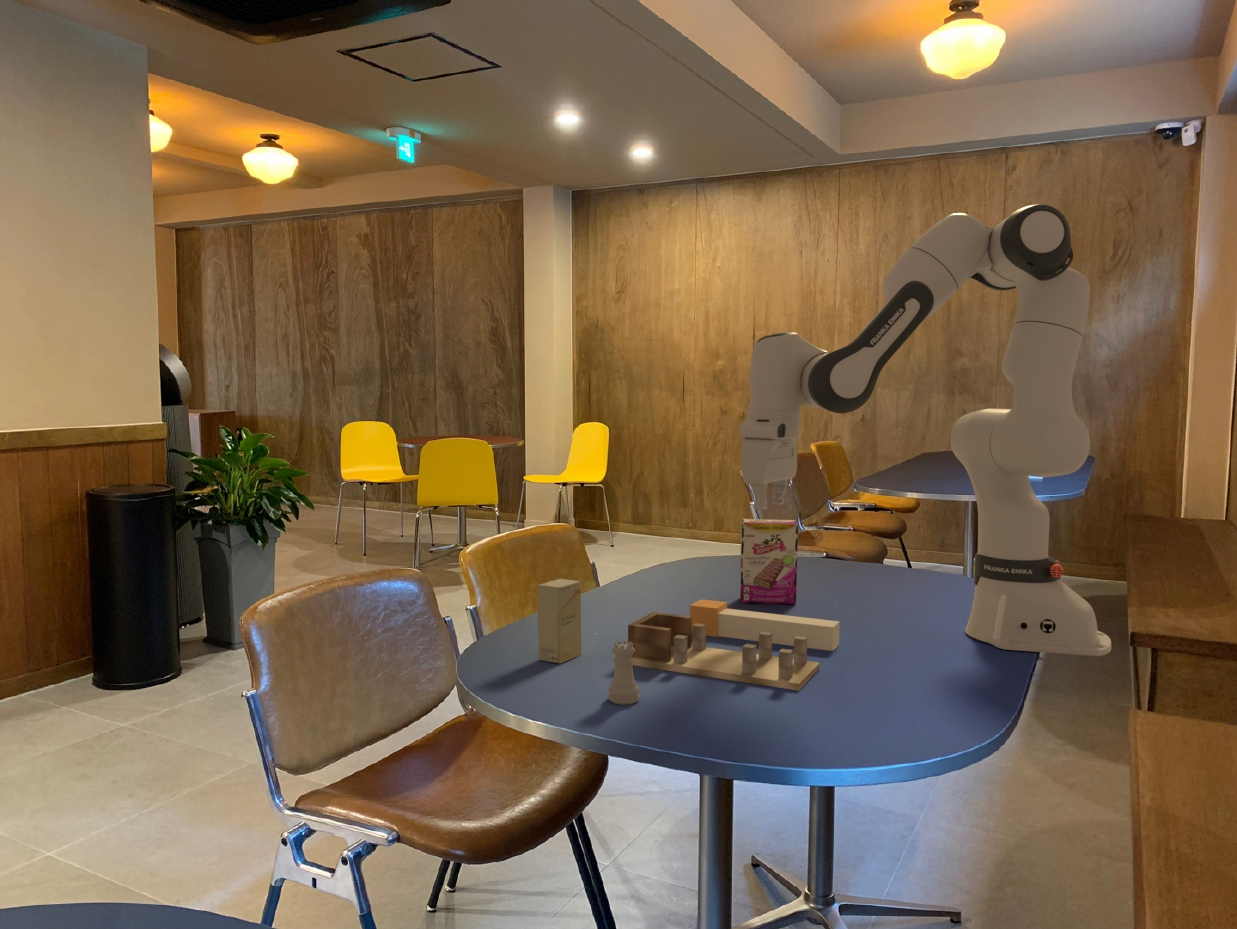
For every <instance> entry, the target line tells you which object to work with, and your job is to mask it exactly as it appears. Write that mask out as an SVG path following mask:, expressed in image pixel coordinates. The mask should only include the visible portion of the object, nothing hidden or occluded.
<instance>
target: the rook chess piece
mask: <svg viewBox="0 0 1237 929" xmlns="http://www.w3.org/2000/svg"><path fill="white" fill-rule="evenodd" d="M622 642H623V643H622ZM611 651H612V653H613V654H614V657H615V658H614V659H613V663H614V673H613V678H612V681H611V683H610V686H608V690H607V692H608V693H609V694H608V695H607V698H608V700H609V701H610V703H612V704H614V705H617V706H618V705H619V706H629V705H633V704H636V703H638V701H639V700H640V697H641V696H640V694H639V692H640V687H639V685H638V684H637V682H636V681H635V674H634V671H633V670H634V669H633V666H634V665H633V662H634V660H633V659H632V655H633V654H634V652H635V649H634V647H633V643H632V642H629V644H628V640H623V641H621V640H619V641H618V640H617V641H616V642H614V645H613V648H612V649H611Z"/></svg>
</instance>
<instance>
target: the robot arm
mask: <svg viewBox="0 0 1237 929" xmlns="http://www.w3.org/2000/svg"><path fill="white" fill-rule="evenodd" d="M1071 238H1072V236H1071V229H1070V225H1069V222H1068V220H1067V219H1066V217H1065V216H1064V214H1063V213H1062V212H1061V211H1060V210H1058V209H1057V208H1056V207H1054V206H1051V205H1047V204H1032V205H1027V206H1024V207H1022V208H1019V209H1017V210H1015V211H1014V212H1012V213H1011V214H1010V215H1009V216H1007V217H1006V218H1005V219H1003V220H1002V221H1000V222H999V223H998V224H996V225H995V226H987V225H984V224H983V223H982V222H981V221H979V219H977V218H975V216H972V215H970V214H967V213H963V212H957V213H955V212H954V213H952V214H948V215H947V216H945V217H943V218H942V219H941V220H940V221H938V222H937V223H935V224H934V225H933V226H932V227H930V228H929V229H927V231H926V232H924V233H923V234H922V235H921V236H920V237H919V238H917V239H916V240H915V241H914V242H913V243H912V244H911V245H910V246H909V247H908V248H907V249H906V250H905V251H904V252H903V253H902V255H901V256H899V258H898V259H897V261H896V262H895V263H894V264H893V266H892V267H891V268H890V270H889V272H888V273H887V275H886V277H885V278H884V279H883V284H882V285H883V287H882V290H883V295H884V298H885V300H884V304H883V306H882V307H881V308H880V310H879V311H878V312H877V314H876V315H874V317H873V318H872V319H871V320H870V321H869V323H868V324H866V326H864V328H862V330H861V332H860V333H859V334H858V335H857V336H856V337H855V338H854V339H853V340H852V341H851V342H850V343H849V344H847V345H846V346H844V347H842V348H838V349H836V350H834V351H831V352H829V351H827V350H825V349H823V348H820V347H818V346H816V345H814V344H812V343H811V342H809V341H808V340H806V339H805V338H804V337H802V336H801V335H800V334H799V333H798V332H795V331H786V332H785V331H784V332H778V333H772V334H766V335H764V336H762V337H760V338H758V340H756V342H755V343H754V346H753V348H752V353H751V359H750V367H749V382H748V383H749V389H750V401H749V403H748V407H747V408H748V409H747V416H746V418H745V420H744V421H743V422H742V423H741V424H740V426H739V437H740V439H741V438H742V442H741V452H740V453H741V463H740V464H741V476H742V481H743V482H744V483H745V484H749V485H750V484H751V485H752V494H753V496H754V497H753V498H754V509H755V510H756V511H764V510H767V509H768V502H769V500H768V498H767V490H768V484H771V483H773V485H774V486H773V494H771V503H772V505H775V506H781V505H784V502H785V494H786V490H787V487H788V480H789V479H793V478H796V474H797V470H798V444H797V439H799V438H800V424H801V423H800V422H801V421H800V420H801V408H802V405H806V406H809V407H811V408H814V409H818V410H823V411H829V412H832V413H836V414H847V413H851V412H854V411H856V410H858V409H860V408H861V407H863V406H864V405H865V404H866V403H867V402H868V401H869V399H870V397H871V396H872V394H873V391H874V389H875V387H876V384H877V381H878V378H879V376H880V373H881V372H882V370H883V368H884V367H885V365H886V364H887V363H888V362H889V360H890V359H891V358H892V357H893V356H894V355H895V354H896V353H897V351H898V350H899V349H900V348H901V347H902V345H903V344H904V343H905V342H906V341H907V340H908V338H910V337H911V335H912V334H913V333H914V332H915V330H916V329H917V328H918V327H919V326H921V324H923V323H924V321H926V320H927V319H928V318H929V317H931V316H932V315H933V314H934V313H936V312H937V311H938V310H939V309H940V308H942V307H943V306H944V305H945V304H946V303H947V302H948V301H949V300H950V299H951V298H952V297H953V296H954V295H955V294H956V292H958V291H959V290H960V289H961V287H962V286H963V285H964V284H965V283H966V282H967V281H968V280H969V279H972V280H974V281H978V282H979V283H980V284H982V285H983V286H985V287H986V288H989V289H990V290H995V291H1008V290H1015V289H1016V291H1017V295H1018V306H1017V308H1018V309H1017V312H1016V314H1015V317H1014V321H1013V323H1012V324H1013V325H1012V328H1011V330H1010V335H1009V338H1008V342H1007V346H1006V349H1005V352H1004V355H1003V356H1004V357H1003V359H1002V363H1001V370H1002V373H1003V375H1004V377H1005V379H1007V381H1008V382H1010V383H1011V384H1012V389H1013V403H1012V407H1011V408H985V409H979V410H975V411H972V412H969V413H966V414H963V415H962V416H961V417H959V419H957V420H956V422H955V423H954V425H953V427H952V430H951V433H950V447H951V451H952V452H953V454H954V456H955V458H956V459H957V460H958V461H959V462H960V463H961V464H962V465H963V467H964V469H965V470H966V472H967V475H968V477H969V480H970V482H971V486H972V488H973V492H974V496H975V502H976V506H977V551H976V552H975V555H974V558H973V581H974V582H973V584H974V585H975V586H974V595H973V600H972V606H971V611H970V614H969V618H968V622H967V624H966V627H965V630H964V632H965V633H966V635H967V636H969V637H971V638H973V639H976V640H978V641H982V642H984V643H988V644H990V645H992V646H994V647H996V648H997V649H1002V650H1009V651H1020V652H1021V651H1023V652H1033V653H1046V654H1047V653H1050V654H1063V655H1064V654H1065V655H1076V656H1077V655H1078V656H1092V657H1101V656H1105V655H1107V654H1109V653H1110V652H1111V650H1112V640H1111V638H1110V637H1109V635H1107V634H1106V633H1104V632H1102V631H1099V630H1098V623H1097V617H1096V614H1095V611H1094V608H1093V607H1092V605H1091V604H1090V603H1089V602H1088V601H1087V600H1086V599H1084V598H1083V597H1082V596H1081V595H1079V594H1078V593H1077V592H1076V591H1075V590H1073V589H1072V588H1071V587H1069V586H1068V585H1067V584H1065V583H1064V582H1063V581H1061V577H1062V576H1063V574H1064V568H1063V566H1062V563H1060V561H1059V560H1058V559H1054V558H1052V557H1051V556H1049V544H1050V543H1049V539H1050V536H1049V535H1050V511H1049V509H1048V508H1047V506H1046V504H1044V503H1043V502H1042V500H1040V499H1039V498H1038V496H1037V494H1036V493H1035V491H1034V489H1033V487H1032V485H1031V480H1030V477H1037V478H1051V477H1059V476H1065V475H1071V474H1073V473H1075V472H1076V471H1078V470H1079V469H1080V468H1081V467H1082V466H1083V465H1084V464H1085V462H1086V461H1087V459H1088V456H1089V454H1090V450H1091V449H1090V448H1091V439H1090V434H1089V430H1088V428H1087V426H1086V424H1084V422H1083V421H1082V420H1081V419H1080V418H1079V416H1078V415H1077V412H1076V410H1075V405H1074V402H1073V391H1072V390H1073V389H1072V388H1073V377H1074V374H1075V373H1074V372H1075V368H1076V366H1077V365H1076V364H1077V360H1078V357H1079V353H1080V349H1081V345H1082V341H1083V337H1084V334H1085V330H1086V326H1087V322H1088V315H1089V309H1090V298H1091V295H1090V294H1091V285H1090V282H1089V280H1088V278H1087V276H1085V275H1084V274H1083V273H1082V272H1080V271H1078V270H1076V269H1073V268H1072V267H1070V265H1071V263H1072V262H1073V259H1074V252H1073V251H1074V250H1073V248H1072V244H1071V243H1072V241H1071ZM1068 259H1069V260H1068ZM1067 261H1068V262H1067Z"/></svg>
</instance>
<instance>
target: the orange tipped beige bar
mask: <svg viewBox="0 0 1237 929" xmlns="http://www.w3.org/2000/svg"><path fill="white" fill-rule="evenodd" d="M689 616H692V635H693V625H695V624H696V623H698V624H706V637H707V636H709V637H715V638H716V637H721V638H722V637H723V638H731V639H738V640H739V639H740V640H746V641H753V642H759V634H760V633H761V632H770V633H772V644H776V645H777V644H778V645H785V646H792V647H794V638H795V637H796V636H802V637H807V649H815V650H821V651H822V650H823V651H831V652H834V651H835V650H836V648H838V647H839V645H840V621H839V620H838V621H837V620H829V619H821V618H812V617H803V616H794V615H787V614H777V613H768V612H762V611H761V612H759V611H751V610H742V609H735V608H728V602H727V601H719V600H709V599H699V600H697V601H695V602H694V603H691V604H690V606H689Z"/></svg>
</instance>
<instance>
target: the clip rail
mask: <svg viewBox="0 0 1237 929" xmlns="http://www.w3.org/2000/svg"><path fill="white" fill-rule="evenodd" d="M706 640H707V635H706V624H698V623H696V624H695V625H693V634H692V616H690V615H683V614H675V613H668V612H667V613H666V612H665V613H664V612H659V611H651V613H648V614H646V615H644V616H643V617H641V618H639V619H637V620H635V621H633V622H631V623H630V624H628V625H627V644H629V642H632V643H633V647H634V649H635V652H634V654H633V655H632V659H633V660H634V662H633V666H636V667H642V668H648V669H655V670H662V671H667V672H668V671H669V672H673V673H681V674H686V675H694V676H701V677H707V678H714V679H719V680H720V679H721V680H726V681H727V680H728V681H734V682H738V683H746V684H753V685H757V686H758V685H760V686H765V687H766V686H767V687H770V688H771V687H772V688H777V689H778V688H779V689H785V690H793V691H797V692H800V690H801V689H802V688H803V687H804V686H805V685H806V684H807V683H808V682H809V681H810V679H812V678H813V676H814V675H815V674H817V672H819V670H820V662H816V661H810V660H808V648H807V637H802V636H796V637H795V638H794V646H793V649H785V648H782V649H780V650H779V651H778V656H775V655H773V643H772V633H770V632H761V633H760V634H759V641H758V653H757V644H749V643H745V644H744V645H743V646H742V649H741V650H742V651H736V650H729V649H723V648H715V647H708V646H706V645H707V643H706V642H707V641H706Z"/></svg>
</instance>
